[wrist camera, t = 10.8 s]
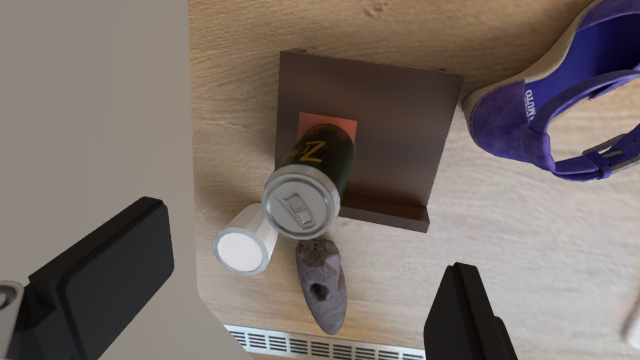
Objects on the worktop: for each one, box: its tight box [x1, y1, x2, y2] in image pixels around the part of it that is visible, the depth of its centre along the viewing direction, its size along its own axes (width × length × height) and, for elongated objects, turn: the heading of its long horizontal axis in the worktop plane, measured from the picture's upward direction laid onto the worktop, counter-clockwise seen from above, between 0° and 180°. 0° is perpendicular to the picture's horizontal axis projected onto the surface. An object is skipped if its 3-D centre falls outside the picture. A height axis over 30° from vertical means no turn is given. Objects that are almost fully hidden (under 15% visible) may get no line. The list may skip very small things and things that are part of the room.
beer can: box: [261, 124, 354, 240], centre depth 26 cm, size 5×5×12 cm
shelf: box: [275, 48, 465, 233], centre depth 32 cm, size 14×16×8 cm
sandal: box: [462, 0, 640, 182], centre depth 23 cm, size 8×20×15 cm, turn 115°
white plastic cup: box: [213, 203, 280, 276], centre depth 40 cm, size 7×7×7 cm
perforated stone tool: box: [296, 238, 347, 335], centre depth 42 cm, size 15×5×7 cm, turn 10°
